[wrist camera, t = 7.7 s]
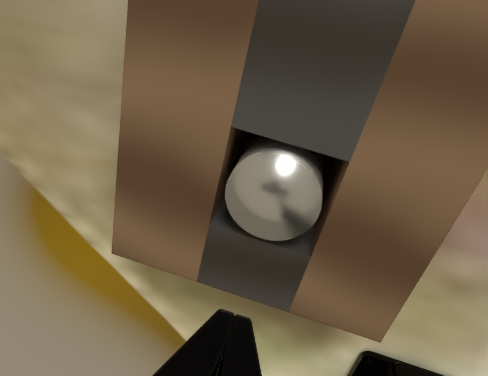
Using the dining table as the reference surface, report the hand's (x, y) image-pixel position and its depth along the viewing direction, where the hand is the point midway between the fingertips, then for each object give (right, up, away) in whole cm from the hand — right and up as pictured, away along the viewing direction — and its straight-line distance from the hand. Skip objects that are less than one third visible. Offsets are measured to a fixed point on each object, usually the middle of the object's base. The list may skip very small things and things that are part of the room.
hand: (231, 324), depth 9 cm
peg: (+2, +5, +10) cm, 12 cm away
